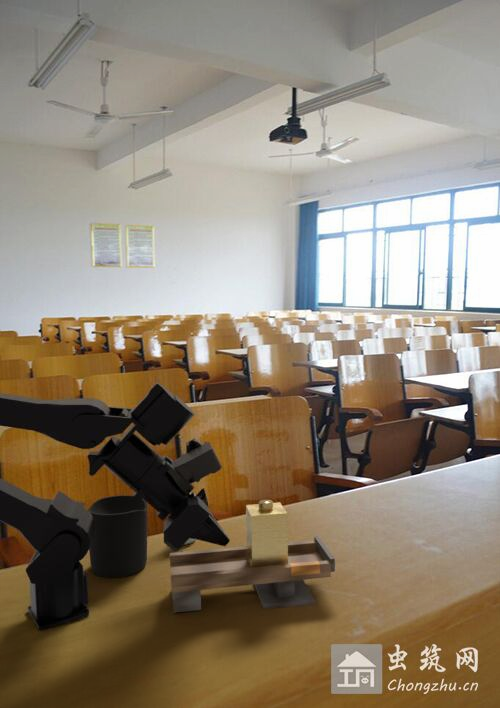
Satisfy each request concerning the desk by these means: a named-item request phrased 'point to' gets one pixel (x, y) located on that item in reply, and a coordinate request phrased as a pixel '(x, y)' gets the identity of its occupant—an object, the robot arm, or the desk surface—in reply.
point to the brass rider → (266, 534)
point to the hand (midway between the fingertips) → (227, 542)
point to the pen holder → (118, 536)
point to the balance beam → (249, 574)
